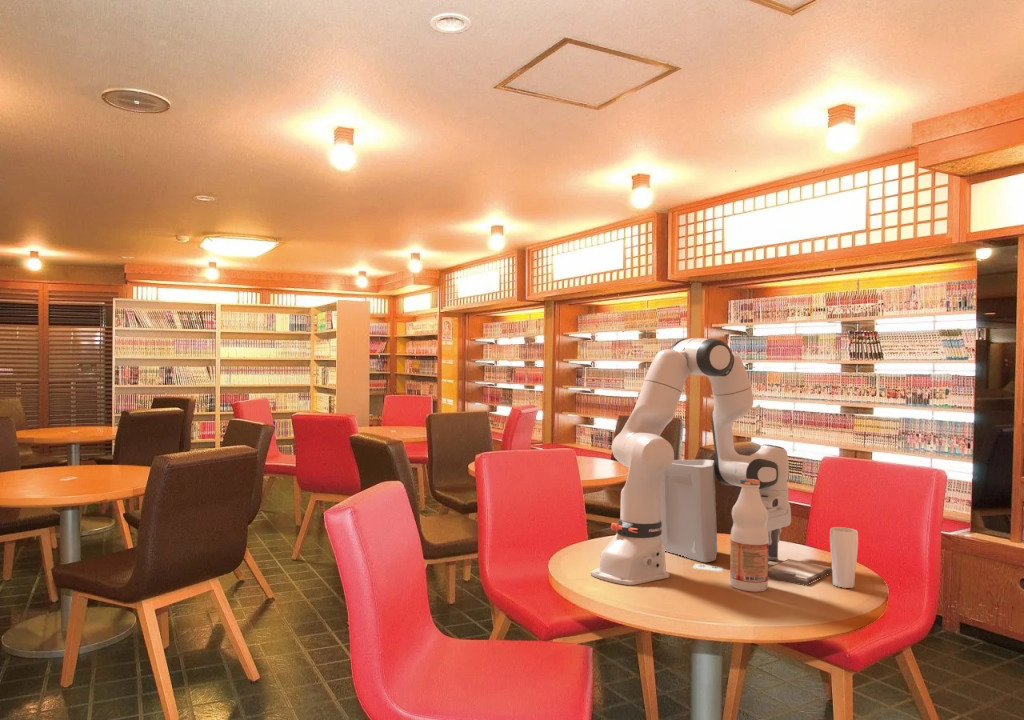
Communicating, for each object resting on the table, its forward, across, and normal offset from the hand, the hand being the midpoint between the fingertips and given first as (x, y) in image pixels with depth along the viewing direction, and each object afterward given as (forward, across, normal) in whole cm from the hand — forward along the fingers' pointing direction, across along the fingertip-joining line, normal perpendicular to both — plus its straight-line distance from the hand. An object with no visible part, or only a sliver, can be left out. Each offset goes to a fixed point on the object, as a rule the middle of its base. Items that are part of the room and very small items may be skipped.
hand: (771, 543), depth 212 cm
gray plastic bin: (+5, +11, -19) cm, 22 cm away
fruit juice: (+5, +33, +8) cm, 34 cm away
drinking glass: (+5, +13, +25) cm, 28 cm away
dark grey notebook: (+5, +10, +12) cm, 16 cm away
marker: (+5, 0, 0) cm, 5 cm away
